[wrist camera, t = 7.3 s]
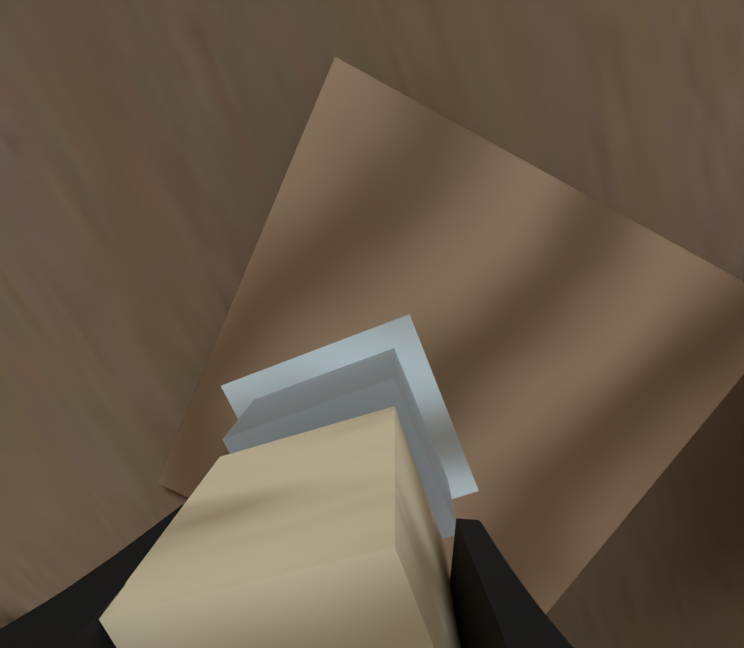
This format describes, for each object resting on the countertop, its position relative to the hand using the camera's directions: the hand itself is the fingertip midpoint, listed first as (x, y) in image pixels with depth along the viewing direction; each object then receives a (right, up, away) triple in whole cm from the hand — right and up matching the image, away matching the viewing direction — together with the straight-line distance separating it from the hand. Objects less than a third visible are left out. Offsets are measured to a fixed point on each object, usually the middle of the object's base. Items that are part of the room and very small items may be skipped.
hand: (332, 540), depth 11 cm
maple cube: (0, 0, +1) cm, 1 cm away
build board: (+4, +3, +6) cm, 7 cm away
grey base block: (0, +1, +5) cm, 5 cm away
